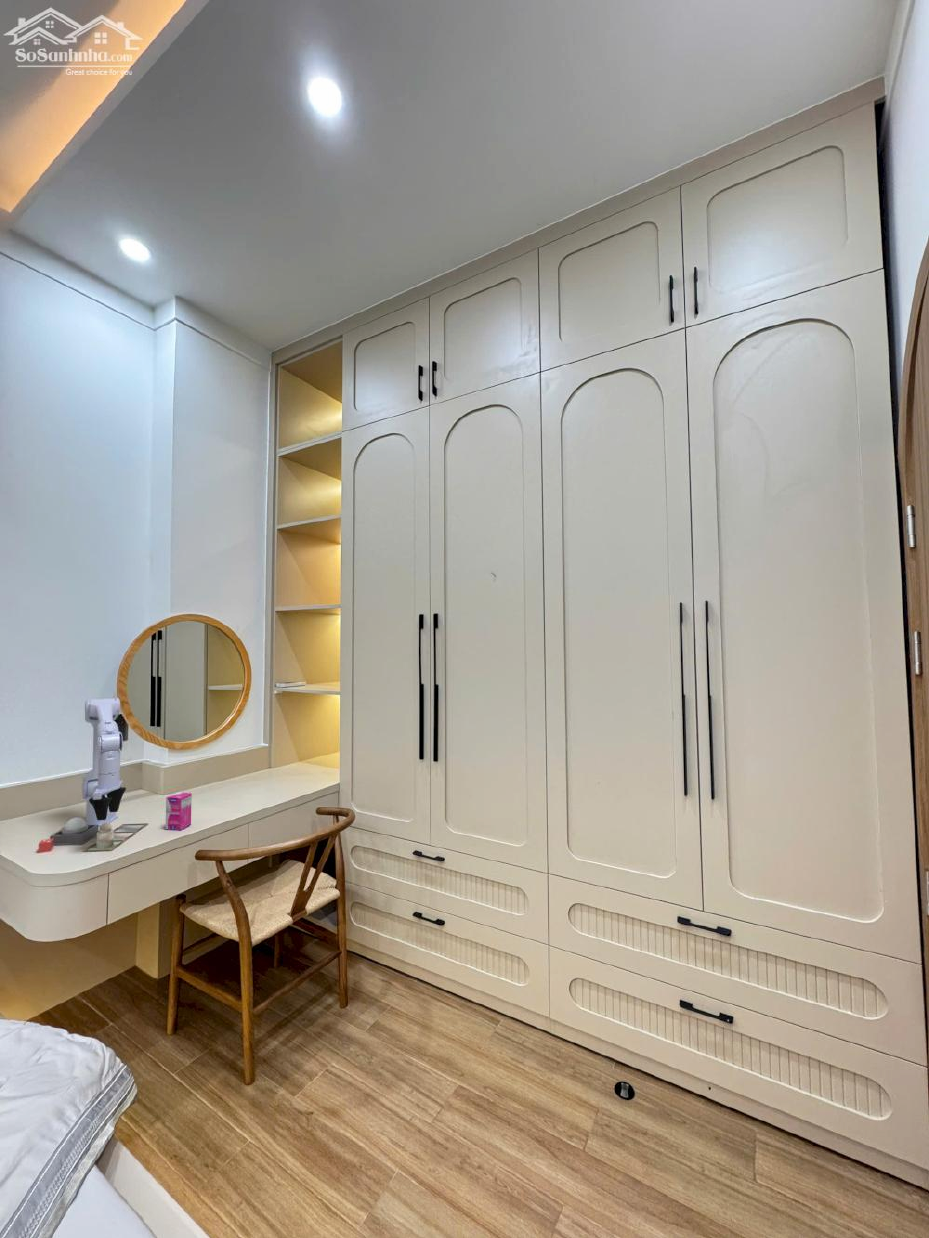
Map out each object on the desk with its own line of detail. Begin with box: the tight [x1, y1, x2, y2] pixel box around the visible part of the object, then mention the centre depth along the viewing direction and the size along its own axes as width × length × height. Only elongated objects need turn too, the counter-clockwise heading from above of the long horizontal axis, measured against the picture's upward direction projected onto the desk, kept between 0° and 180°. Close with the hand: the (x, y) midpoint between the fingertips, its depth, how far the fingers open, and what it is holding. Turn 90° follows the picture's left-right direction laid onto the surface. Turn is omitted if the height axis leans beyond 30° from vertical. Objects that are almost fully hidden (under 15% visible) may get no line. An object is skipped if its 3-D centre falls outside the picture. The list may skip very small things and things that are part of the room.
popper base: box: [49, 824, 100, 847], centre depth 170 cm, size 11×11×3 cm
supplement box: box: [165, 791, 193, 832], centre depth 181 cm, size 6×6×12 cm
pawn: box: [96, 822, 115, 849], centre depth 165 cm, size 4×4×7 cm
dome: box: [61, 816, 88, 835], centre depth 171 cm, size 7×7×6 cm
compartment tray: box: [82, 822, 149, 853], centre depth 172 cm, size 23×8×1 cm, turn 7°
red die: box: [38, 838, 55, 854], centre depth 161 cm, size 3×3×3 cm
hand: (107, 815), depth 165 cm, fingers open, 7 cm apart
